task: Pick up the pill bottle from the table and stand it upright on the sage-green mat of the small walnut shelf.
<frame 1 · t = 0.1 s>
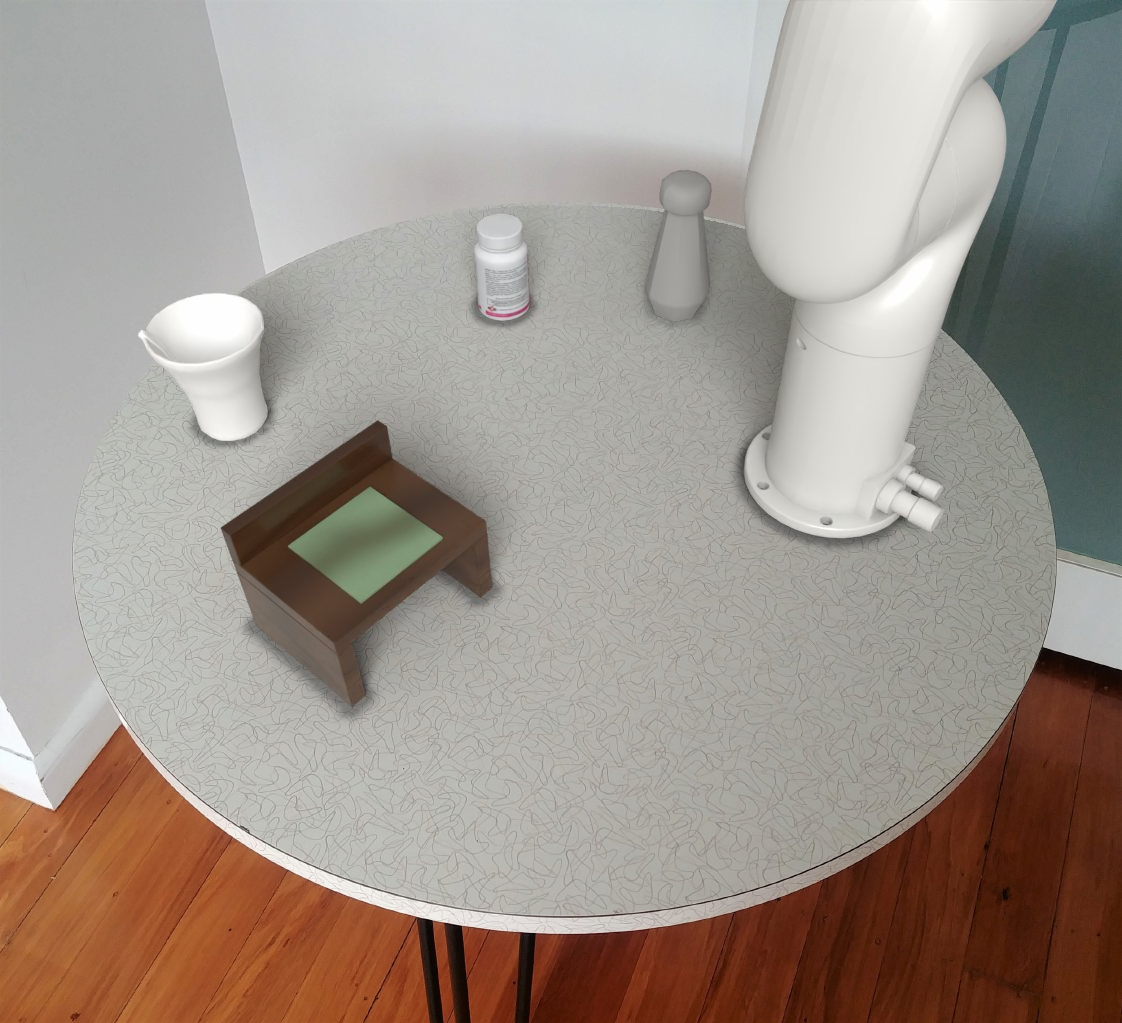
pill bottle: (504, 308, 97), on the table
cup: (232, 424, 87), on the table
shelf: (375, 606, 73), on the table
salt shaker: (675, 309, 97), on the table
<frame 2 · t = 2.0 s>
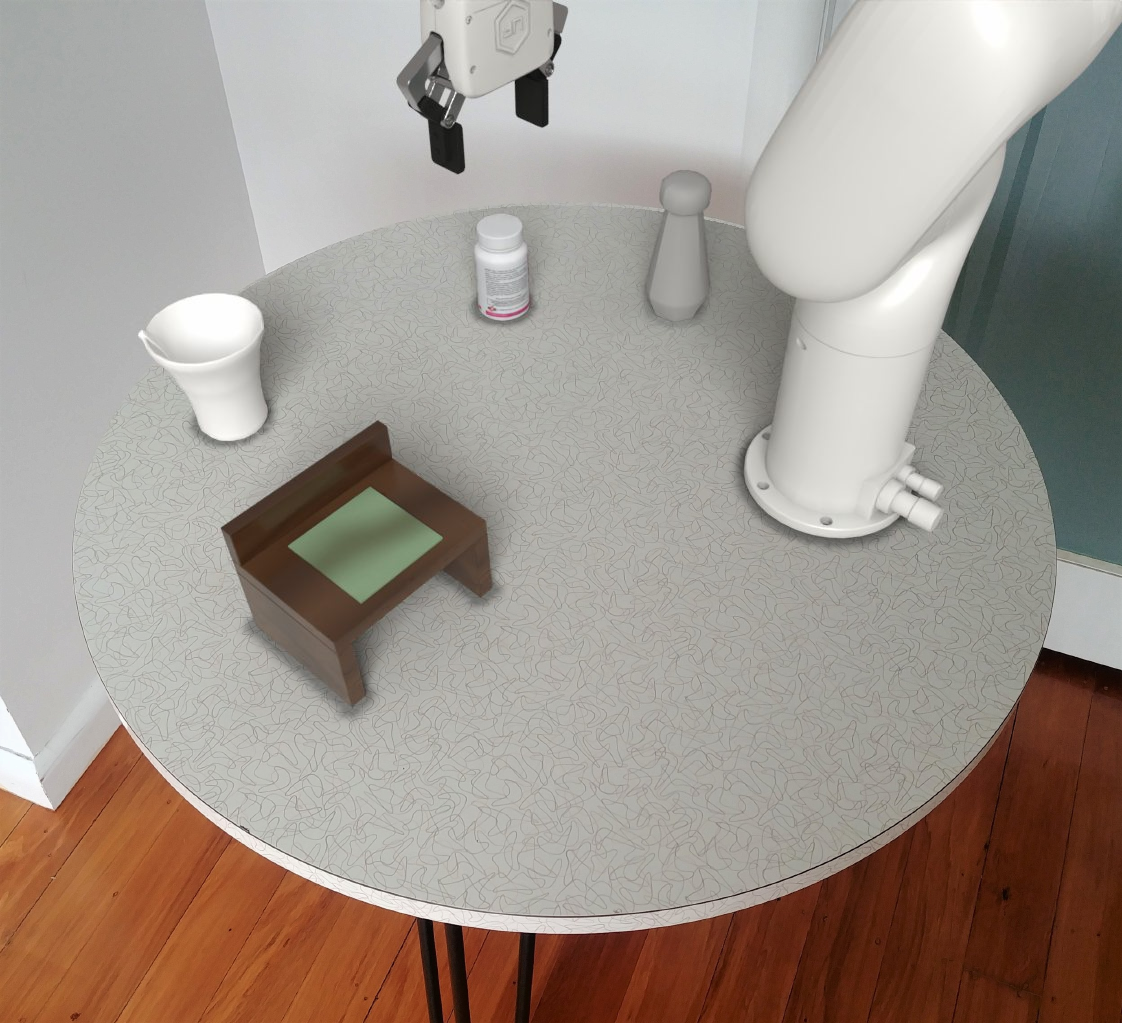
hand: (491, 143, 86), 16 cm above the table, tool pointing down, fingers open, 9 cm apart
nothing on the table moved.
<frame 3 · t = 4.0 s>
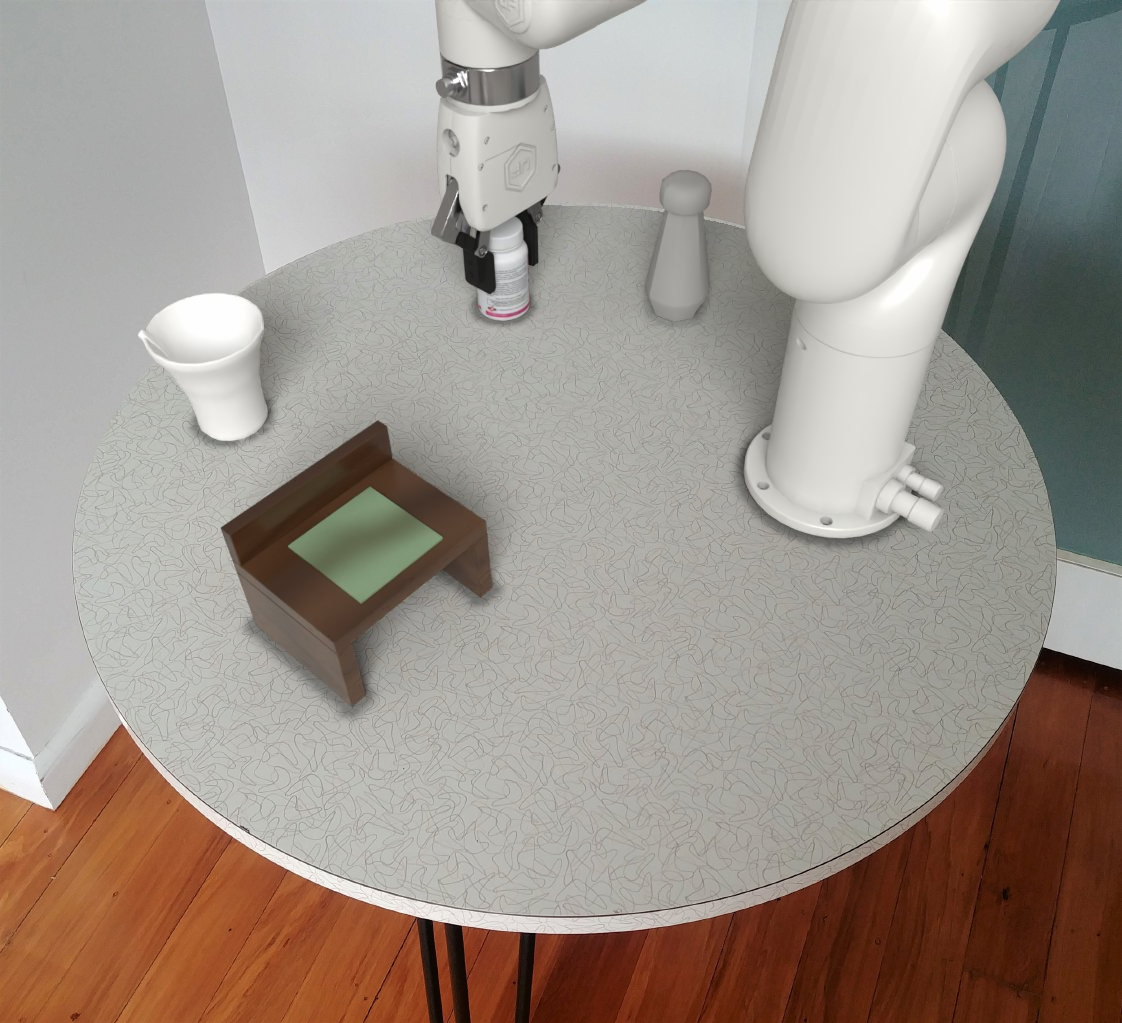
hand: (502, 271, 94), 4 cm above the table, tool pointing down, fingers closed on pill bottle, 4 cm apart
pill bottle: (504, 308, 97), on the table, touching gripper
everything else where it was.
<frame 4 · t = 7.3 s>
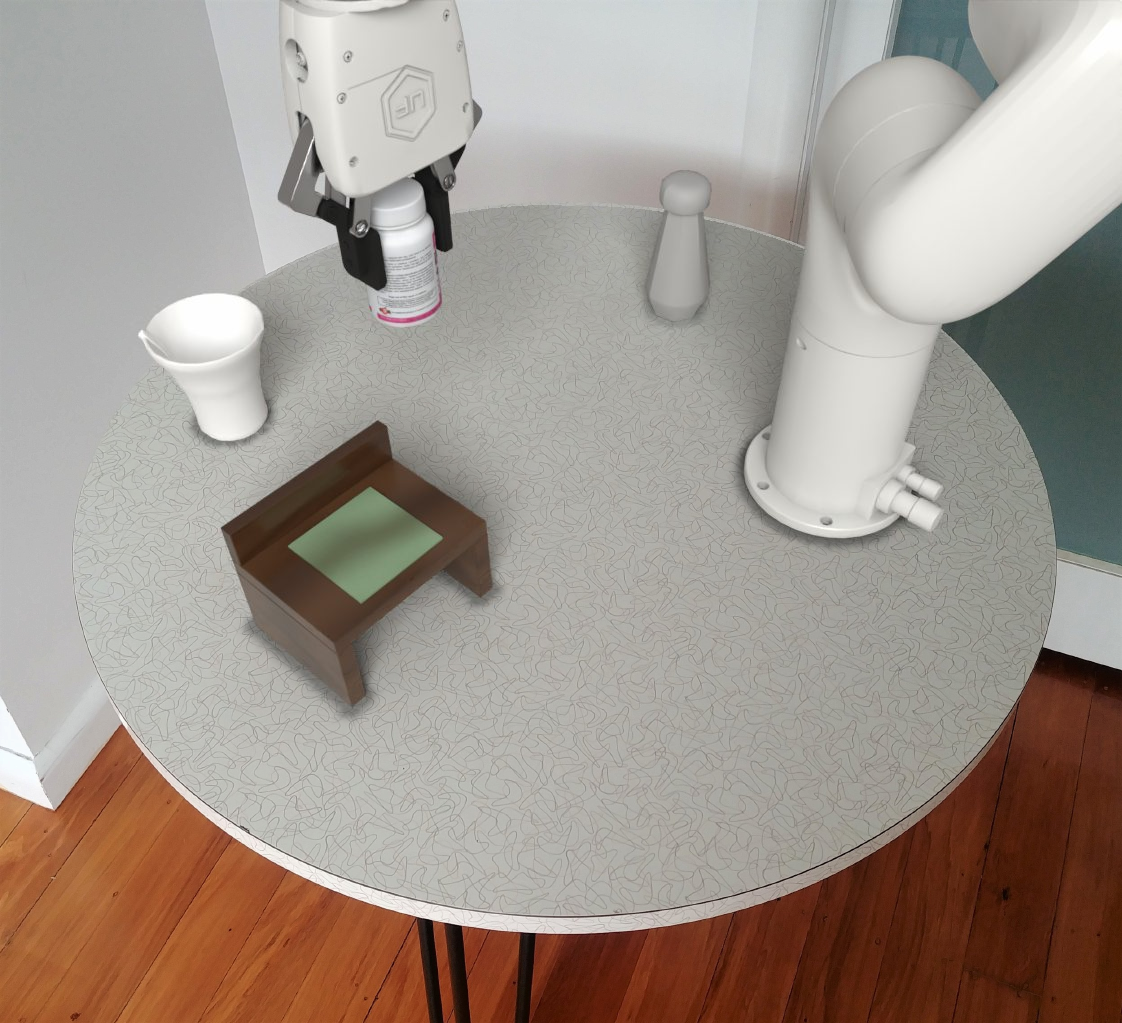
hand: (400, 258, 67), 20 cm above the table, tool pointing down, fingers closed on pill bottle, 4 cm apart
pill bottle: (407, 310, 70), point 16 cm above the table, touching gripper
everything else where it was.
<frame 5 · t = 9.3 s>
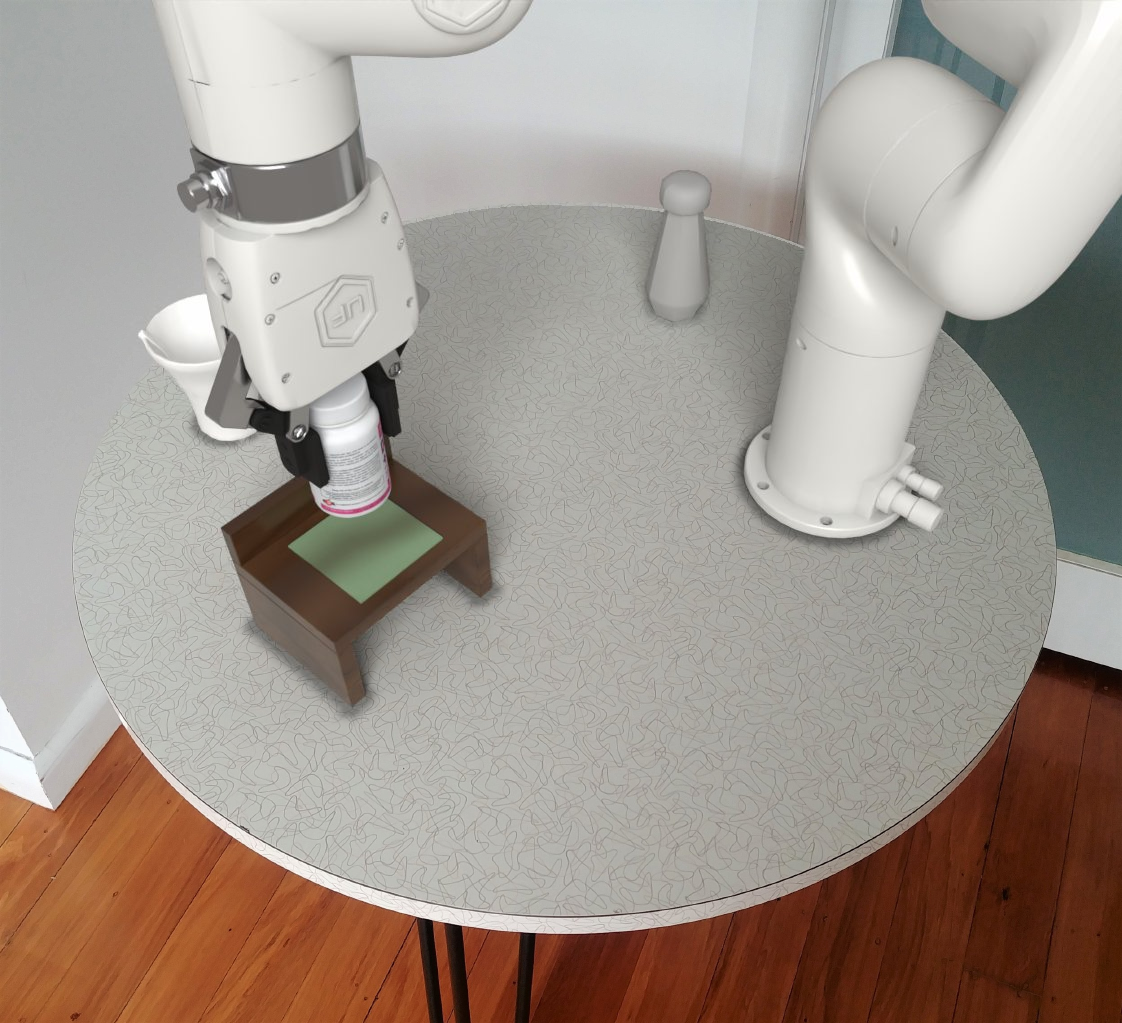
hand: (344, 447, 62), 16 cm above the table, tool pointing down, fingers closed on pill bottle, 4 cm apart
pill bottle: (353, 494, 65), point 12 cm above the table, touching gripper
everything else where it was.
when the fingers open (11 cm above the table, at t = 10.8 s): pill bottle stays where it is, resting on shelf.
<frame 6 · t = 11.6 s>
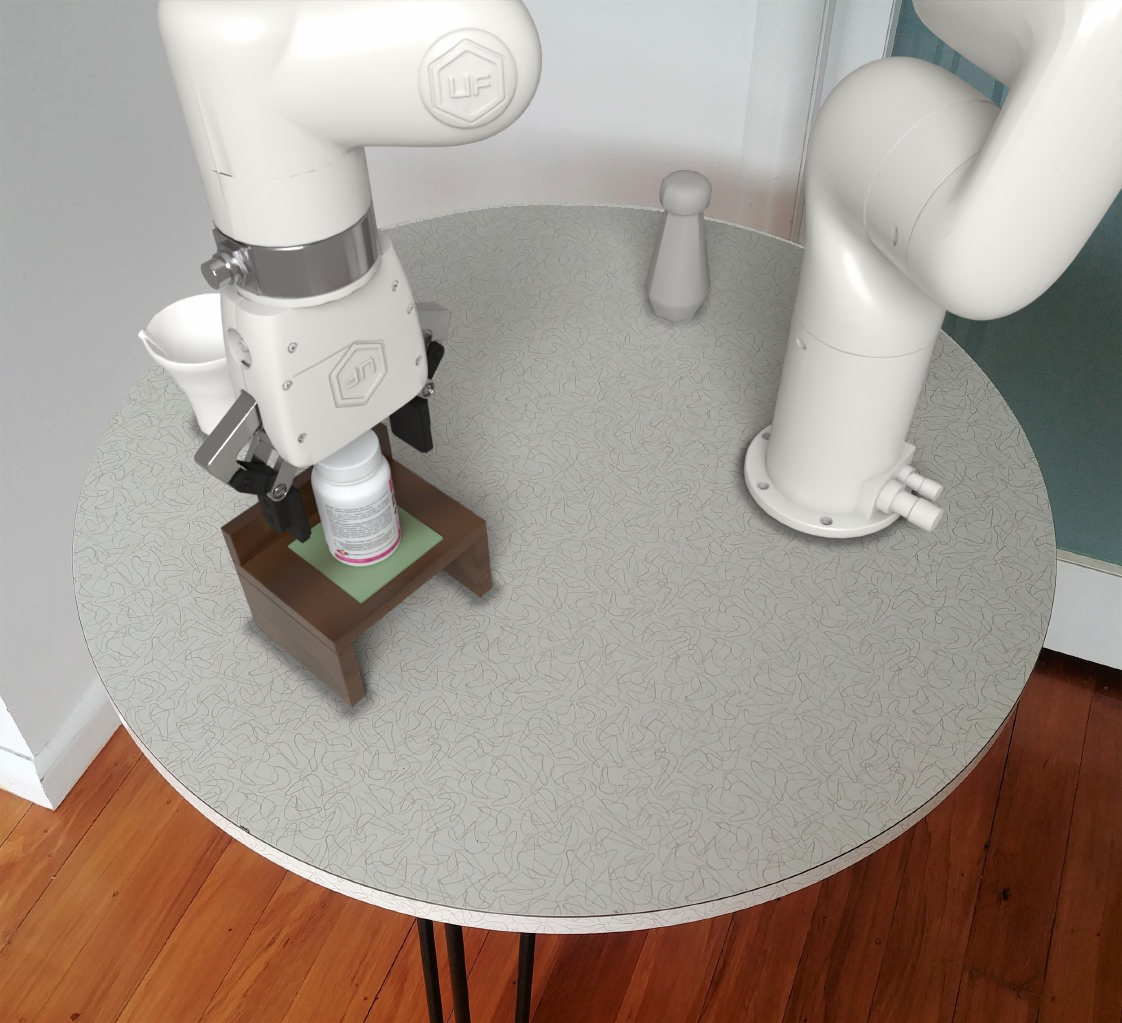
hand: (354, 483, 64), 12 cm above the table, tool pointing down, fingers open, 9 cm apart
pill bottle: (365, 542, 68), point 7 cm above the table, touching shelf
everything else where it was.
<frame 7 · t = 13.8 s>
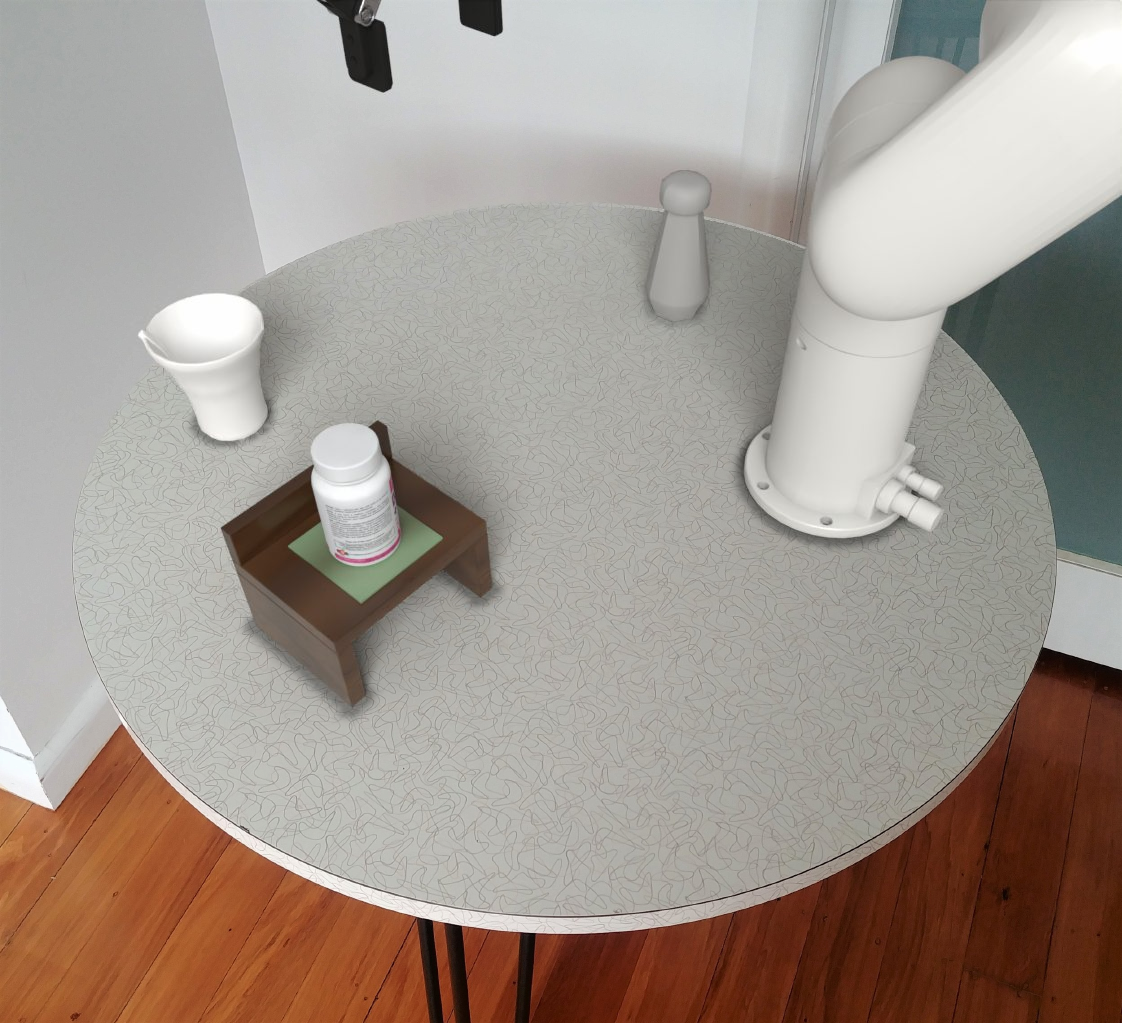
hand: (428, 56, 65), 30 cm above the table, tool pointing down, fingers open, 9 cm apart
nothing on the table moved.
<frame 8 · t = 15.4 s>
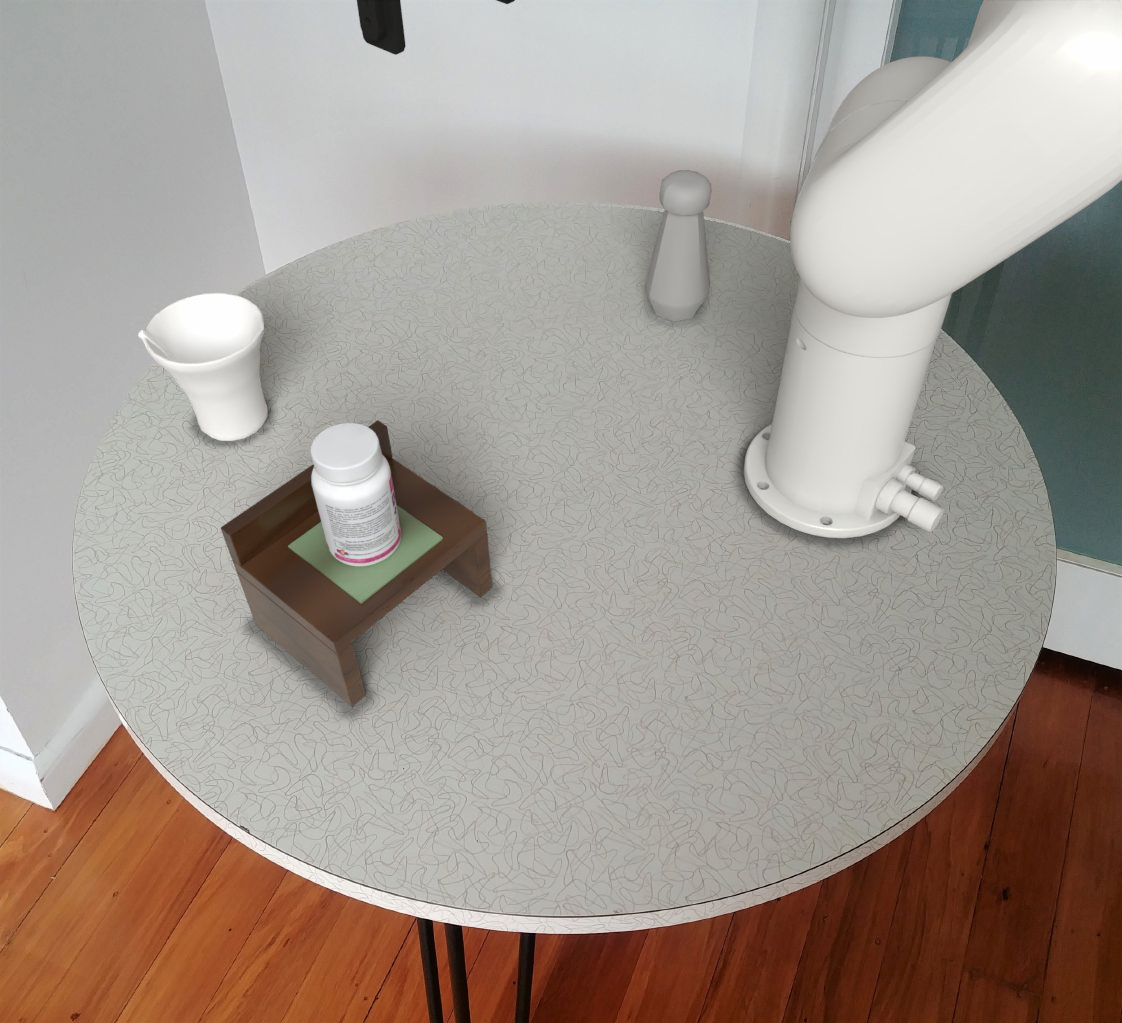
hand: (441, 21, 67), 30 cm above the table, tool pointing down, fingers open, 9 cm apart
nothing on the table moved.
at the end: pill bottle inside the target area on the shelf (0.1 cm from its centre), point 7.0 cm above the shelf's base; pill bottle tilted 0°; the gripper is holding nothing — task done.
